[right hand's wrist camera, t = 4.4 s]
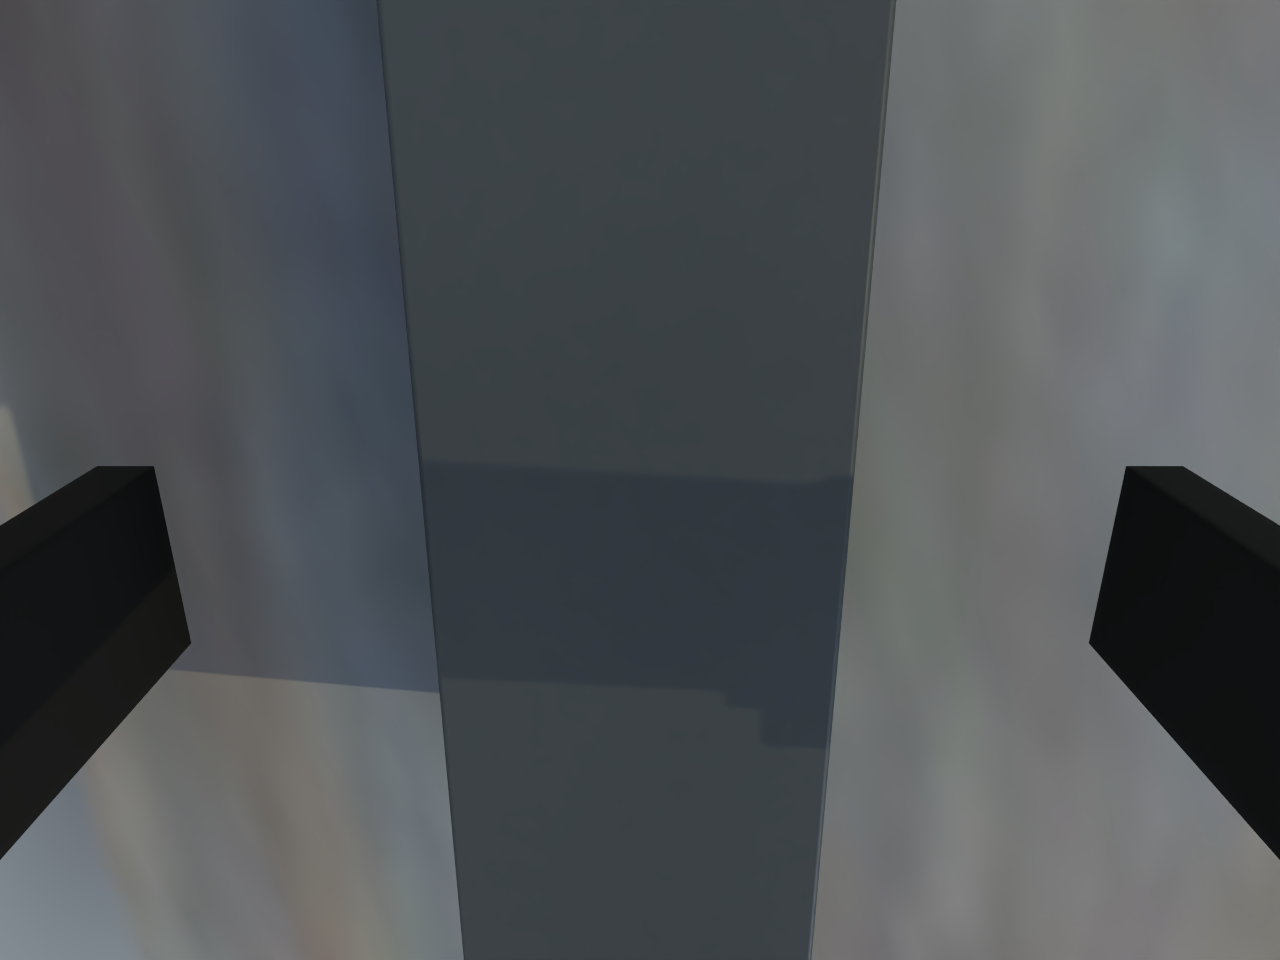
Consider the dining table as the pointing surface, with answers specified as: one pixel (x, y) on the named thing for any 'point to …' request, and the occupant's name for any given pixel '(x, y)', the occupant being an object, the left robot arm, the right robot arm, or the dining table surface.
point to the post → (636, 448)
